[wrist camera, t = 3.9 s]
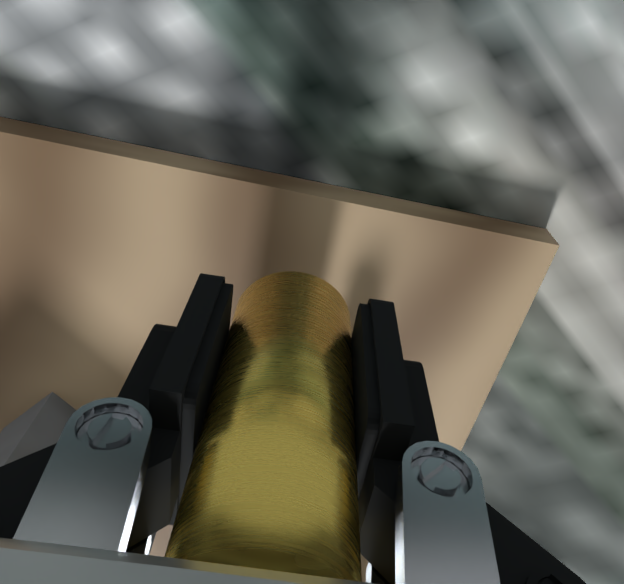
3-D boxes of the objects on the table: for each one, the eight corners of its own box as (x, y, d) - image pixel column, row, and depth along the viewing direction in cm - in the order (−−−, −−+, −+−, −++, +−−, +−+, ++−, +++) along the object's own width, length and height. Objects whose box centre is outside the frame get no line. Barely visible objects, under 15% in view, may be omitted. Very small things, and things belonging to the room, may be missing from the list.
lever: (293, 593, 22) (272, 917, 15) (184, 578, 22) (106, 900, 14) (388, 253, 14) (449, 576, 7) (221, 223, 14) (88, 524, 7)
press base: (546, 229, 17) (627, 329, 13) (383, 584, 27) (393, 717, 22) (-125, 91, 16) (-324, 145, 11) (-40, 519, 26) (-126, 646, 21)
